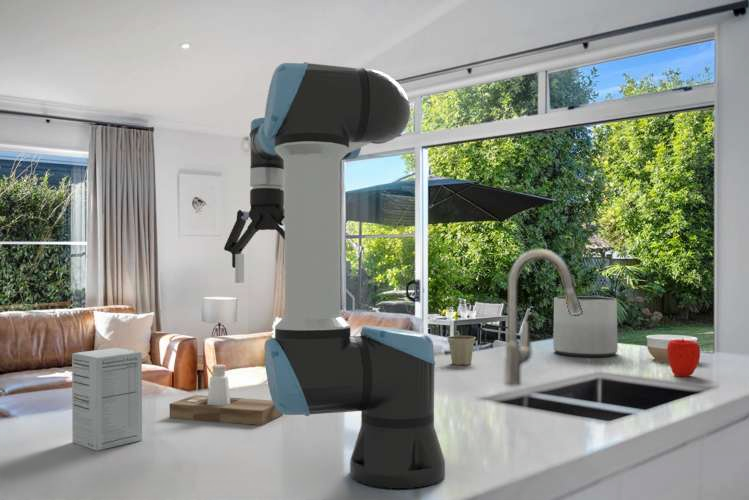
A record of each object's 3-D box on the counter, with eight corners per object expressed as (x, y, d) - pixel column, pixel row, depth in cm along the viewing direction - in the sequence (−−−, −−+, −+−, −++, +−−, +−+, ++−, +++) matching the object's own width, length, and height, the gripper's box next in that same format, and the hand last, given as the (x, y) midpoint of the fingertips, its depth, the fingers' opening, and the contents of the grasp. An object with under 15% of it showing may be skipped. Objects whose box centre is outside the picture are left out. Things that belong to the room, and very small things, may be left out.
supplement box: (117, 432, 136) (118, 347, 136) (143, 440, 130) (144, 351, 131) (70, 442, 129) (70, 352, 129) (95, 451, 123) (96, 356, 123)
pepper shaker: (206, 419, 147) (206, 367, 147) (205, 413, 153) (205, 363, 153) (232, 417, 149) (232, 366, 149) (230, 412, 154) (231, 362, 154)
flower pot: (444, 365, 221) (444, 338, 221) (449, 361, 230) (449, 335, 230) (473, 366, 219) (473, 339, 219) (477, 362, 228) (477, 336, 228)
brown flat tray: (262, 425, 142) (262, 409, 142) (169, 417, 149) (169, 402, 149) (282, 414, 152) (282, 400, 152) (195, 408, 158) (195, 394, 158)
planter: (576, 347, 265) (576, 295, 265) (629, 354, 248) (629, 298, 248) (540, 353, 251) (540, 297, 251) (595, 360, 234) (595, 300, 234)
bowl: (635, 358, 238) (635, 335, 238) (674, 356, 243) (674, 333, 243) (668, 365, 223) (668, 340, 223) (708, 363, 228) (708, 338, 228)
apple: (706, 377, 200) (706, 340, 200) (683, 379, 197) (683, 341, 197) (682, 372, 208) (682, 336, 208) (660, 374, 205) (660, 337, 205)
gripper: (325, 188, 155) (324, 283, 155) (226, 191, 163) (225, 281, 163) (312, 185, 148) (311, 284, 148) (209, 188, 156) (208, 282, 155)
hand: (266, 283), depth 155 cm, fingers open, 13 cm apart
